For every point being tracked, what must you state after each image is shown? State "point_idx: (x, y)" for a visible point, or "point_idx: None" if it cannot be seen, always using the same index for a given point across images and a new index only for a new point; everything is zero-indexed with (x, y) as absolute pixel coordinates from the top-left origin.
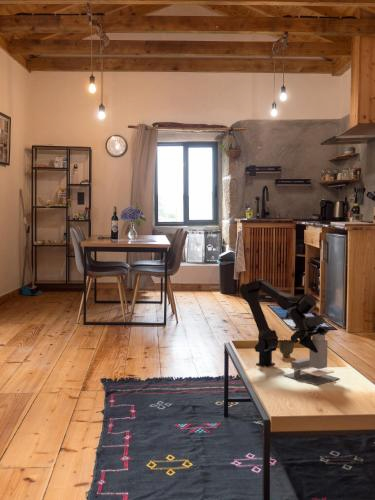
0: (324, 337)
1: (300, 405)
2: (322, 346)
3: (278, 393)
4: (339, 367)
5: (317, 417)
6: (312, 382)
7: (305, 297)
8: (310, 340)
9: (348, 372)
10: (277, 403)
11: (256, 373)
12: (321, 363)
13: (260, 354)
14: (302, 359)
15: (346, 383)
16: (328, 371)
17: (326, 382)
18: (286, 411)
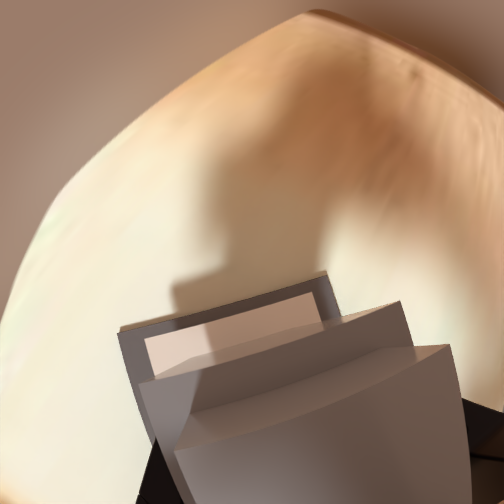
0: (207, 428)
1: (454, 120)
2: (289, 337)
3: (491, 237)
4: (11, 493)
5: (431, 57)
6: (324, 317)
7: None
8: (480, 427)
9: (8, 413)
10: (500, 162)
11: None
12: (265, 337)
13: None
14: None
15: (138, 251)
16: (187, 347)
17: (238, 301)
18: (485, 112)
